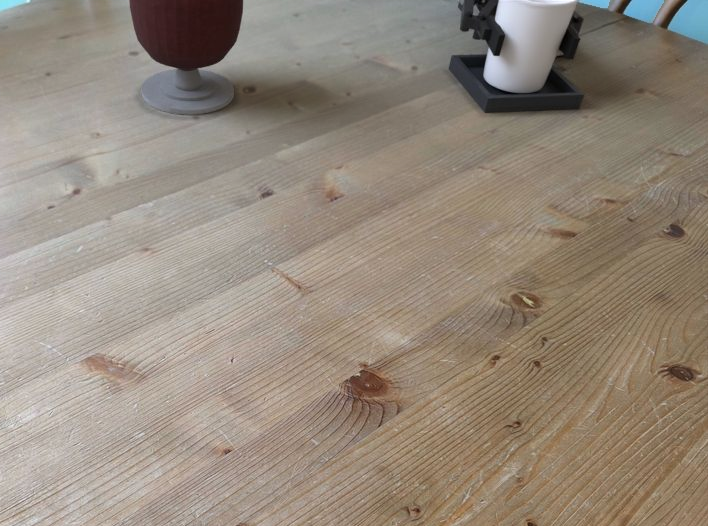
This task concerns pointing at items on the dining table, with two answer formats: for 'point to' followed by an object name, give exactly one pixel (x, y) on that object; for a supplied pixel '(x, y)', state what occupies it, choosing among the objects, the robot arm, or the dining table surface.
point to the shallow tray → (492, 99)
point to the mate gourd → (187, 51)
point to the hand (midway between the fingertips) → (536, 47)
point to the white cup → (527, 43)
